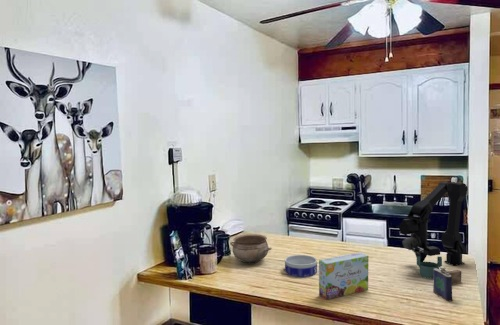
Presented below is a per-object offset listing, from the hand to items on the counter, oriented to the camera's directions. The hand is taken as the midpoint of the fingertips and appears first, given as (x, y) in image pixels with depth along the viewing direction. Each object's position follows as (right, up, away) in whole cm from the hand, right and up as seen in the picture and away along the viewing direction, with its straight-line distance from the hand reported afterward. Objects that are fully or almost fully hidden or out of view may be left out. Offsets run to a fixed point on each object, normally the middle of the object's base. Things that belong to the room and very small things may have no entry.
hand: (420, 264), depth 178 cm
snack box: (-40, -6, -20) cm, 46 cm away
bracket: (+2, -4, -5) cm, 6 cm away
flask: (-3, -6, -27) cm, 27 cm away
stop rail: (+5, -4, -15) cm, 17 cm away
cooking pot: (-79, -5, +22) cm, 82 cm away
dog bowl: (-55, -5, +5) cm, 55 cm away
